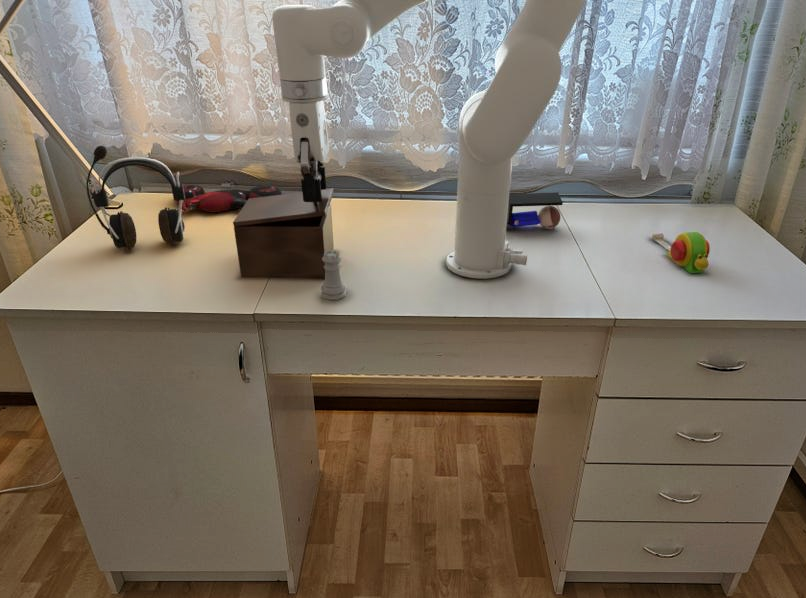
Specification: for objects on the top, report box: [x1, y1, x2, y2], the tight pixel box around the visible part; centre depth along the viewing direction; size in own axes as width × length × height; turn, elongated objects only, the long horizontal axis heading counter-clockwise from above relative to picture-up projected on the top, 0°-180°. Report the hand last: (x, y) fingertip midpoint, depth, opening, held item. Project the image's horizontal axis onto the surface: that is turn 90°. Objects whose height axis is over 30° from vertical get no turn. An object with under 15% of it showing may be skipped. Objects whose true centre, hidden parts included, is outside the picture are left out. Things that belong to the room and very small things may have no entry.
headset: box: [85, 145, 186, 251], centre depth 126 cm, size 17×8×20 cm, turn 110°
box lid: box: [232, 171, 335, 227], centre depth 119 cm, size 16×13×5 cm
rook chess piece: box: [320, 250, 347, 302], centre depth 113 cm, size 4×4×8 cm
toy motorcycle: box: [175, 184, 283, 213], centre depth 150 cm, size 25×5×16 cm
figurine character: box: [506, 192, 563, 230], centre depth 143 cm, size 7×8×15 cm
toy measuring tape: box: [651, 231, 711, 274], centre depth 131 cm, size 6×20×7 cm, turn 9°
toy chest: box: [233, 203, 335, 280], centre depth 124 cm, size 16×13×10 cm
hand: (315, 194), depth 119 cm, fingers closed on box lid, 6 cm apart
